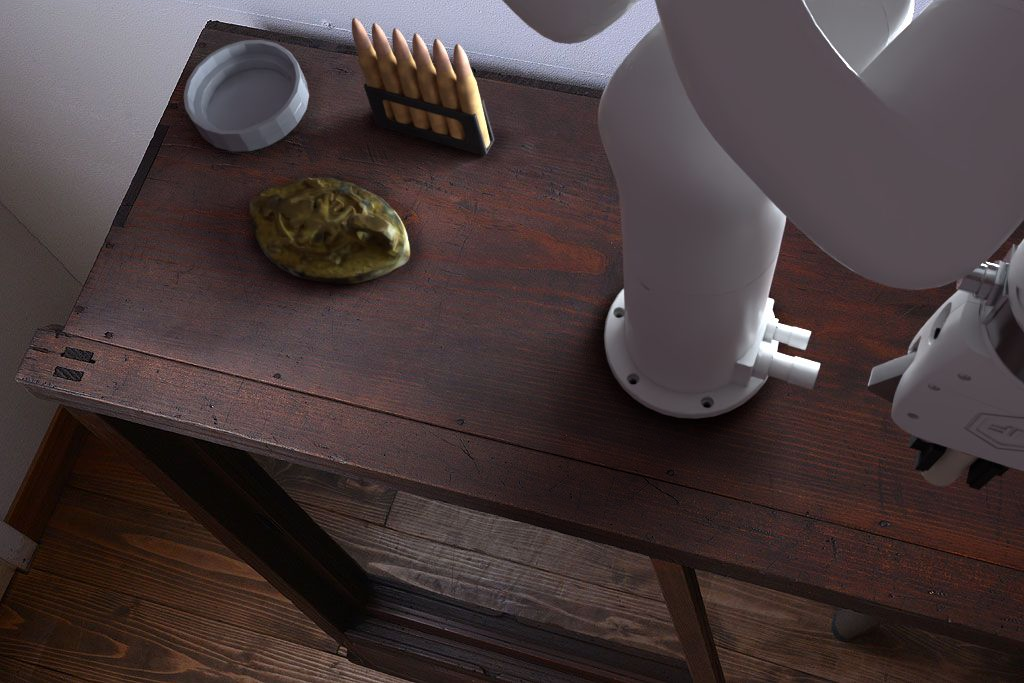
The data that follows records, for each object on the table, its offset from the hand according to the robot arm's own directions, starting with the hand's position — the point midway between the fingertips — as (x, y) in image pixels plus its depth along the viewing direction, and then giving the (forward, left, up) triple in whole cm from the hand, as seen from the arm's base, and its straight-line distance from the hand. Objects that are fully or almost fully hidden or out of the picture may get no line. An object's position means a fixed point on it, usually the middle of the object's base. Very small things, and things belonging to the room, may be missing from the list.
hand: (951, 455), depth 57 cm
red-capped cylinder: (0, 0, -3) cm, 3 cm away
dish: (+61, -17, -10) cm, 64 cm away
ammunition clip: (+44, -19, -10) cm, 49 cm away
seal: (+48, -7, -10) cm, 50 cm away
